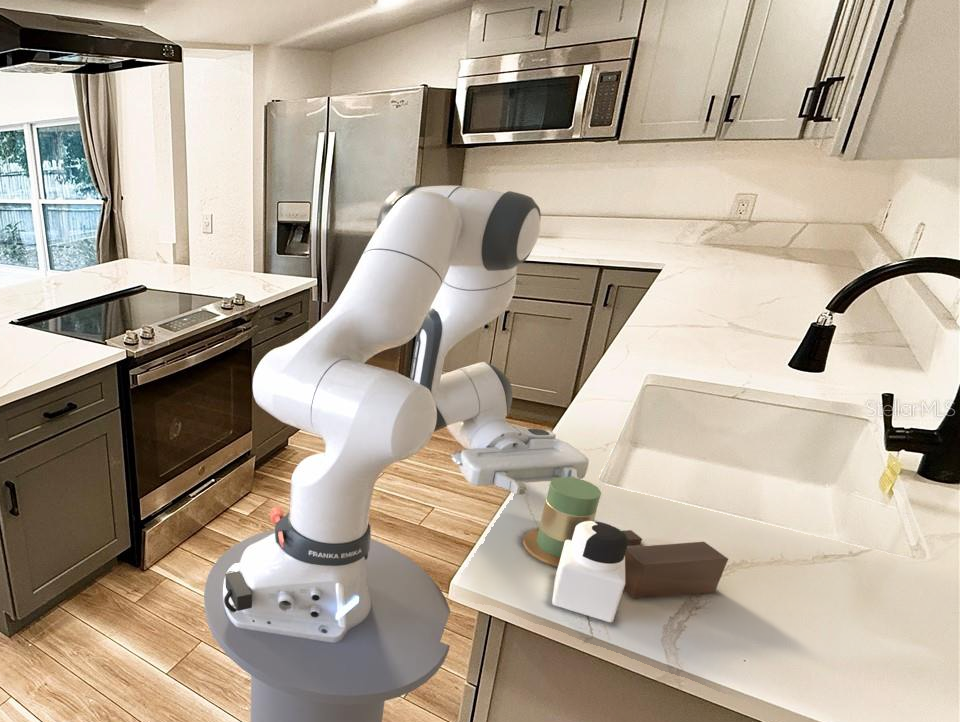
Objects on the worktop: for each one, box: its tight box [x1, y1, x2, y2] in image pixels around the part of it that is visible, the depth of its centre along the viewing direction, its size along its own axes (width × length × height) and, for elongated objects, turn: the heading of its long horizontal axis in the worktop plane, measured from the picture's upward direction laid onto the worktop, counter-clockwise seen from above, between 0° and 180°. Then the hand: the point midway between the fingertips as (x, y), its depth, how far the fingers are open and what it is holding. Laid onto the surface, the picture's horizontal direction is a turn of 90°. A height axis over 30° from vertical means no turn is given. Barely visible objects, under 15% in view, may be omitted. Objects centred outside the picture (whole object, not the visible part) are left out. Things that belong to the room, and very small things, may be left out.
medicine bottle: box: [551, 520, 629, 623], centre depth 85 cm, size 7×7×12 cm
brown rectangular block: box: [621, 529, 729, 599], centre depth 92 cm, size 14×12×6 cm
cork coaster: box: [522, 528, 560, 568], centre depth 98 cm, size 10×10×1 cm
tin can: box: [536, 477, 602, 558], centre depth 95 cm, size 12×7×12 cm
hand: (549, 488), depth 99 cm, fingers open, 8 cm apart
